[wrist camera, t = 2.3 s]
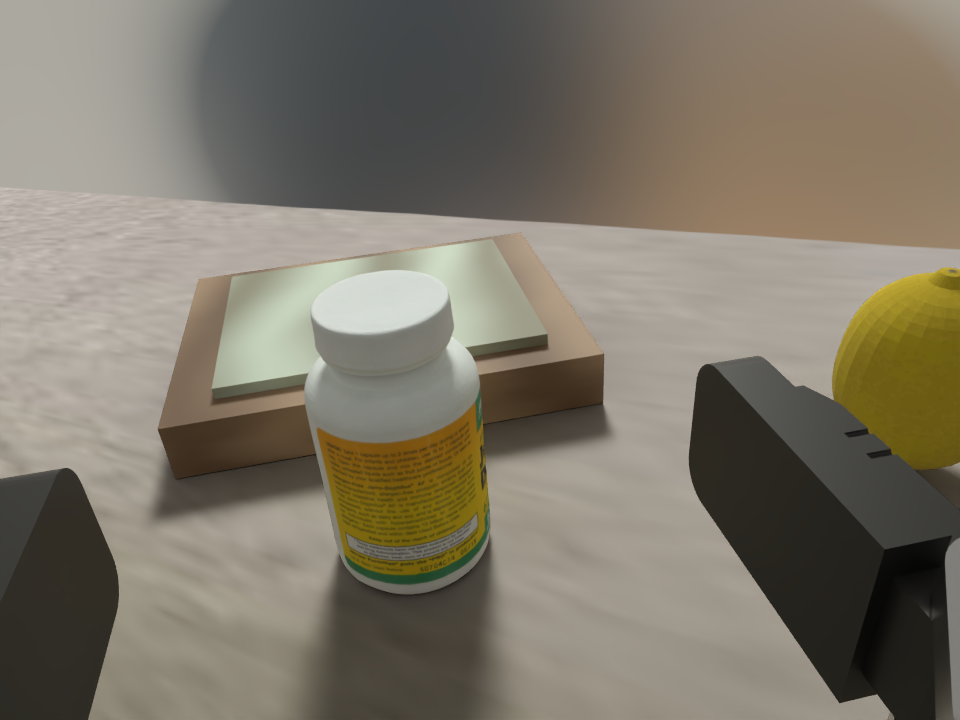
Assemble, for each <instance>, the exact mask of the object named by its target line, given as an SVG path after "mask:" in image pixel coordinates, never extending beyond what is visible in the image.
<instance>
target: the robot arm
mask: <svg viewBox="0 0 960 720" xmlns="http://www.w3.org/2000/svg"><path fill="white" fill-rule="evenodd" d="M689 468H690V474H691V479H692V483H693V486H694V489H695V491H696V494H697V496H698V498H699V499H700V501H701V503H702V504H703V506H704V507H705V509H706V510H707V511H708V513H709V514H710V516H711V517H712V519H713V520H714V522H715V523H716V525H717V526H718V527H719V529H720V530H721V532H722V533H723V535H724V536H725V538H726V539H727V540H728V542H729V543H730V545H731V546H732V548H733V549H734V551H735V552H736V554H737V555H738V556H739V558H740V559H741V561H742V562H743V564H744V565H745V567H746V568H747V570H748V571H749V572H750V574H751V575H752V577H753V578H754V580H755V581H756V583H757V584H758V586H759V587H760V588H761V590H762V591H763V593H764V594H765V596H766V597H767V599H768V600H769V601H770V603H771V604H772V606H773V607H774V609H775V610H776V612H777V613H778V615H779V616H780V617H781V619H782V620H783V622H784V623H785V625H786V626H787V628H788V629H789V631H790V632H791V633H792V635H793V636H794V638H795V639H796V641H797V642H798V644H799V645H800V647H801V648H802V649H803V651H804V652H805V654H806V655H807V657H808V658H809V660H810V661H811V662H812V664H813V665H814V667H815V668H816V670H817V671H818V673H819V674H820V676H821V677H822V678H823V680H824V681H825V683H826V684H827V686H828V687H829V689H830V690H831V692H832V693H833V694H834V696H835V697H836V699H837V700H838V702H839V703H842V702H846V701H851V700H855V699H859V698H863V697H867V696H871V695H876V694H877V695H878V696H879V697H880V699H881V700H882V701H883V703H884V704H885V705H886V707H887V708H888V709H889V711H890V713H889V716H888V719H887V720H960V510H959V509H958V508H957V507H955V506H954V505H953V504H952V503H951V502H950V501H949V500H948V499H947V498H945V497H944V496H943V495H942V494H941V493H940V492H939V491H938V490H936V489H935V488H934V487H933V486H932V485H931V484H930V483H929V482H928V481H926V480H925V479H924V478H923V477H922V476H921V475H920V474H919V473H917V472H916V471H915V470H914V469H913V468H912V467H911V466H910V465H908V464H907V463H906V462H905V461H904V460H903V459H902V458H901V457H900V456H898V455H897V454H895V455H892V453H891V448H889V447H888V446H887V445H886V444H885V443H884V442H883V441H882V440H881V439H879V438H878V437H877V436H876V435H875V434H874V433H873V434H869V432H868V428H867V427H866V426H865V425H864V424H863V423H862V422H860V421H859V420H858V419H857V418H856V417H855V416H854V415H853V414H851V413H850V412H849V411H848V410H847V409H846V408H845V407H844V406H843V405H841V404H840V403H838V402H836V401H834V400H832V399H830V398H828V397H826V396H824V395H821V394H819V393H817V392H815V391H813V390H811V389H809V388H807V387H805V386H798V387H795V386H794V385H792V384H791V383H790V382H789V381H788V380H787V379H786V378H785V377H784V376H783V375H782V374H781V373H780V372H779V371H778V370H777V369H775V368H774V367H773V366H772V365H771V364H770V363H769V362H768V361H767V360H766V359H764V358H762V357H760V356H754V357H748V358H742V359H736V360H730V361H724V362H718V363H712V364H706V365H704V366H702V368H701V369H700V371H699V373H698V376H697V382H696V391H695V401H694V410H693V420H692V430H691V440H690V449H689ZM118 600H119V584H118V575H117V570H116V565H115V562H114V559H113V556H112V554H111V552H110V549H109V547H108V545H107V542H106V540H105V538H104V535H103V533H102V531H101V528H100V526H99V524H98V521H97V519H96V517H95V514H94V512H93V510H92V507H91V505H90V502H89V500H88V498H87V495H86V493H85V491H84V488H83V486H82V484H81V482H80V480H79V478H78V476H77V475H76V474H75V473H74V471H72V470H71V469H68V468H63V469H57V470H51V471H45V472H39V473H33V474H27V475H21V476H15V477H8V478H2V479H0V720H88V718H89V714H90V710H91V706H92V703H93V699H94V695H95V691H96V688H97V684H98V680H99V676H100V673H101V669H102V665H103V661H104V658H105V654H106V650H107V647H108V643H109V639H110V635H111V632H112V628H113V624H114V620H115V617H116V613H117V608H118Z"/></svg>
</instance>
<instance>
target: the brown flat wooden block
mask: <svg viewBox="0 0 960 720" xmlns="http://www.w3.org/2000/svg"><path fill="white" fill-rule="evenodd" d="M386 270H406V271H414V272H420V273H424V274H428V275H430V276H433V277H435V278H437V279H439V280H440V281H441V282H442V283H443V284H444V285H445V286H446V287H447V289H448V292H449V296H450V301H451V308H452V315H453V321H454V330H453V334H452V336H451V337H453V338H454V339H456V340H457V341H458V342H460V343H461V344H462V345H463V346H464V347H465V348H466V349H467V350H468V351H469V353H470V354H471V355H472V357H473V359H474V361H475V363H476V366H477V369H478V373H479V380H480V393H481V405H482V420H483V424H487V423H492V422H498V421H504V420H509V419H515V418H520V417H526V416H532V415H537V414H543V413H548V412H554V411H560V410H565V409H571V408H576V407H582V406H588V405H593V404H599V403H603V382H604V353H603V351H602V350H601V348H600V347H599V346H598V344H597V343H596V341H595V340H594V338H593V337H592V335H591V334H590V332H589V331H588V329H587V328H586V326H585V325H584V324H583V322H582V321H581V319H580V318H579V316H578V315H577V313H576V312H575V310H574V309H573V307H572V306H571V305H570V303H569V302H568V300H567V299H566V297H565V296H564V294H563V293H562V291H561V290H560V288H559V287H558V285H557V284H556V283H555V281H554V280H553V278H552V277H551V275H550V274H549V272H548V271H547V269H546V268H545V266H544V265H543V264H542V262H541V261H540V259H539V258H538V256H537V255H536V253H535V252H534V250H533V249H532V247H531V246H530V244H529V243H528V242H527V240H526V239H525V237H524V236H523V234H522V233H515V234H508V235H501V236H494V237H487V238H480V239H473V240H466V241H459V242H452V243H446V244H439V245H432V246H425V247H418V248H411V249H404V250H397V251H390V252H383V253H376V254H369V255H362V256H355V257H348V258H341V259H334V260H328V261H321V262H314V263H307V264H300V265H293V266H286V267H279V268H272V269H265V270H258V271H251V272H244V273H237V274H230V275H223V276H216V277H210V278H203V279H199V280H198V283H197V287H196V291H195V294H194V298H193V302H192V305H191V309H190V313H189V316H188V320H187V324H186V327H185V331H184V335H183V338H182V342H181V346H180V349H179V353H178V357H177V360H176V364H175V368H174V371H173V375H172V379H171V382H170V386H169V390H168V393H167V397H166V401H165V404H164V408H163V412H162V415H161V419H160V423H159V426H158V431H159V434H160V437H161V440H162V442H163V445H164V448H165V451H166V453H167V456H168V459H169V462H170V464H171V467H172V470H173V472H174V475H175V478H176V479H178V478H184V477H190V476H195V475H201V474H206V473H212V472H218V471H223V470H229V469H234V468H240V467H246V466H251V465H257V464H262V463H268V462H274V461H279V460H285V459H291V458H296V457H302V456H307V455H313V454H316V451H315V447H314V442H313V438H312V434H311V430H310V425H309V421H308V416H307V411H306V407H305V399H304V388H305V382H306V379H307V376H308V373H309V371H310V369H311V367H312V366H313V364H314V363H315V362H316V360H317V359H318V358H319V357H320V354H319V353H318V352H317V350H316V347H315V338H314V333H313V327H312V322H311V314H310V311H311V306H312V303H313V301H314V300H315V299H316V297H317V296H318V295H319V294H320V293H322V292H323V291H324V290H325V289H327V288H329V287H330V286H332V285H334V284H336V283H338V282H340V281H342V280H345V279H347V278H351V277H354V276H357V275H361V274H366V273H372V272H378V271H386Z"/></svg>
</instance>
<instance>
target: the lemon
mask: <svg viewBox="0 0 960 720" xmlns="http://www.w3.org/2000/svg"><path fill="white" fill-rule="evenodd" d="M832 390H833V397H834V401H836V402H838V403H840V404H841V405H843V406H844V407H845V408H846V409H847V410H848V411H849V412H850V413H851V414H853V415H854V416H855V417H856V418H857V419H858V420H859V421H860V422H862V423H863V424H864V425H865V426H866V427H867V428H868V432H869V434H873V433H874V434H875V435H876V436H877V437H878V438H879V439H881V440H882V441H883V442H884V443H885V444H886V445H887V446H888V447H889V448H891V453H892V455H895V454H897V455H898V456H900V457H901V458H902V459H903V460H904V461H905V462H906V463H907V464H908V465H910V466H911V467H912V468H913V469H917V470H924V469H937V468H942V467H947V466H952V465H954V464H956V463H959V462H960V270H959V269H956V268H941V269H939V270H938V271H936V272H935V273H924V274H917V275H912V276H909V277H905V278H902V279H900V280H898V281H895V282H893V283H891V284H889V285H886V286H885V287H883V288H881V289H880V290H878V291H877V292H876V293H875V294H873V295H872V296H871V297H870V298H869V299H868V300H867V301H866V302H865V303H864V304H863V305H862V306H861V307H860V309H859V310H858V311H857V312H856V314H855V315H854V317H853V319H852V320H851V322H850V324H849V326H848V327H847V330H846V332H845V334H844V336H843V339H842V341H841V344H840V347H839V350H838V353H837V356H836V360H835V363H834V369H833V378H832Z"/></svg>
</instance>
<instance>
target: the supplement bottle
mask: <svg viewBox="0 0 960 720" xmlns="http://www.w3.org/2000/svg"><path fill="white" fill-rule="evenodd" d="M310 314H311V322H312V327H313V333H314V338H315V347H316V350H317V352H318V353H319V354H320V357H319V358H318V359H317V360H316V362H315V363H314V364H313V366H312V367H311V369H310V371H309V373H308V376H307V379H306V382H305V388H304V399H305V407H306V411H307V416H308V421H309V425H310V430H311V434H312V438H313V442H314V447H315V451H316V455H317V460H318V464H319V468H320V472H321V476H322V481H323V485H324V490H325V495H326V499H327V504H328V508H329V513H330V517H331V522H332V526H333V531H334V536H335V540H336V544H337V547H338V551H339V554H340V557H341V559H342V561H343V563H344V565H345V566H346V568H347V569H348V570H349V571H350V573H351V574H352V575H353V576H354V577H355V578H356V579H358V580H359V581H361V582H363V583H365V584H367V585H369V586H371V587H374V588H377V589H379V590H383V591H386V592H390V593H396V594H419V593H426V592H430V591H433V590H437V589H440V588H442V587H445V586H447V585H449V584H451V583H453V582H455V581H456V580H458V579H459V578H461V577H462V576H463V575H465V574H466V573H467V572H469V571H470V570H471V569H472V568H473V567H474V566H475V564H476V563H477V562H478V561H479V559H480V558H481V556H482V554H483V553H484V551H485V549H486V546H487V543H488V540H489V536H490V511H489V498H488V486H487V472H486V467H485V449H484V433H483V420H482V405H481V393H480V380H479V373H478V369H477V366H476V363H475V361H474V359H473V357H472V355H471V354H470V353H469V351H468V350H467V349H466V348H465V347H464V346H463V345H462V344H461V343H460V342H458V341H457V340H456V339H454V338H453V337H451V336H452V334H453V330H454V321H453V315H452V308H451V301H450V296H449V292H448V289H447V287H446V286H445V285H444V284H443V283H442V282H441V281H440V280H439V279H437V278H435V277H433V276H430V275H428V274H424V273H420V272H414V271H406V270H386V271H378V272H372V273H366V274H361V275H357V276H354V277H351V278H347V279H345V280H342V281H340V282H338V283H336V284H334V285H332V286H330V287H329V288H327V289H325V290H324V291H323V292H322V293H320V294H319V295H318V296H317V297H316V299H315V300H314V301H313V303H312V306H311V311H310Z"/></svg>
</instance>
